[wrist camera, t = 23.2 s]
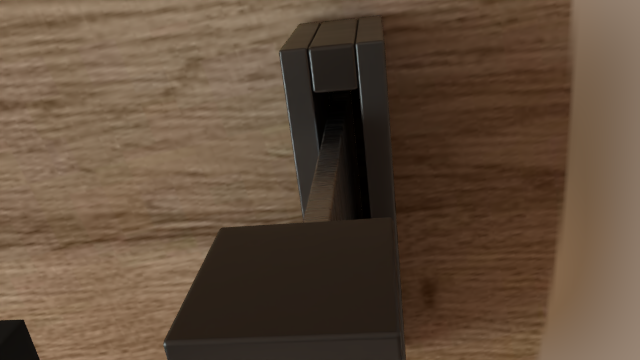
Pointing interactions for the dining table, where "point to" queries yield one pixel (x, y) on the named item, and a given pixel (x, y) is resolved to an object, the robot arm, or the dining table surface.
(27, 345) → the robot arm
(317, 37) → the knife block
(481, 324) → the dining table surface
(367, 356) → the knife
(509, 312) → the dining table surface
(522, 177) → the dining table surface
